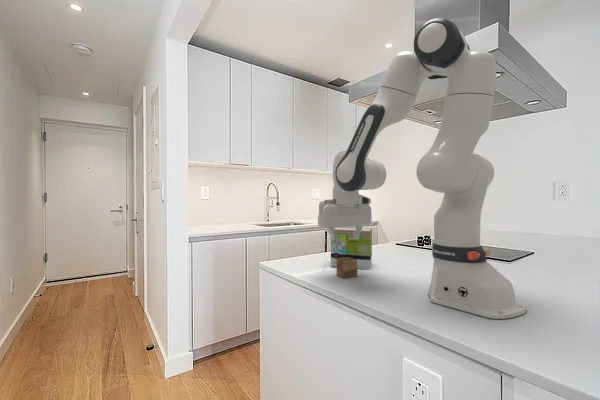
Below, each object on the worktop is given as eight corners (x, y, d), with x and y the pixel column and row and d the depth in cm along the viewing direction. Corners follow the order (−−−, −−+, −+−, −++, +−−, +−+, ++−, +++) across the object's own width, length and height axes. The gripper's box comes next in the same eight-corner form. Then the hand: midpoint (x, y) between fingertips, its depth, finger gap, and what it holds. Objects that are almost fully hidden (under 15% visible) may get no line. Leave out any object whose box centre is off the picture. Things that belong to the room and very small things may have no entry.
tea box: (330, 267, 119) (330, 229, 119) (335, 262, 129) (334, 226, 129) (370, 269, 115) (370, 230, 115) (372, 264, 125) (372, 227, 124)
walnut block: (357, 277, 105) (357, 259, 105) (345, 279, 103) (344, 260, 103) (348, 273, 110) (348, 256, 110) (336, 275, 107) (336, 258, 107)
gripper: (324, 199, 98) (324, 243, 99) (374, 199, 108) (374, 238, 108) (314, 199, 104) (314, 240, 105) (363, 198, 113) (362, 236, 114)
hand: (345, 239), depth 107 cm, fingers open, 8 cm apart
